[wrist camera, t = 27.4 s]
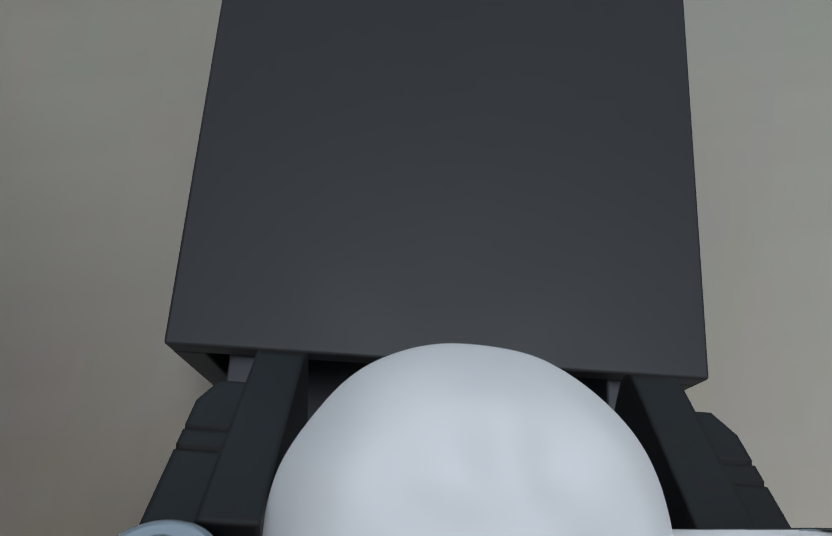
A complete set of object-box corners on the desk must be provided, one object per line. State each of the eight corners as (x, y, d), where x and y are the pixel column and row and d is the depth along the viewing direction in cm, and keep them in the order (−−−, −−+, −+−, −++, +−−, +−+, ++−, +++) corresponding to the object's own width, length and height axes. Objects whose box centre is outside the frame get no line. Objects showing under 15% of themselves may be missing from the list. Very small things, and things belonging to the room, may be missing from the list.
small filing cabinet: (598, 430, 27) (709, 379, 18) (238, 407, 26) (163, 343, 17) (591, 71, 31) (676, -114, 22) (286, 48, 31) (246, -148, 22)
